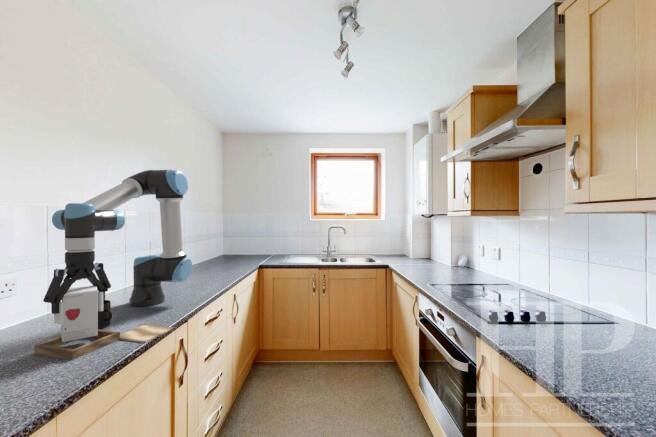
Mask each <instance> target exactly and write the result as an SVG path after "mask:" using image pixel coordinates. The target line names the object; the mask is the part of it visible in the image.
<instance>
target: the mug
mask: <svg viewBox="0 0 656 437" xmlns="http://www.w3.org/2000/svg"><path fill="white" fill-rule="evenodd" d="M111 308H112V307H111V300H109V299H105V300H103V311H98V329H99V330H103V329H104V328H107V327H109V326H110V325H111V320H112V318H113V313H112V311H111Z"/></svg>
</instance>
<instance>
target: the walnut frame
mask: <svg viewBox="0 0 656 437" xmlns="http://www.w3.org/2000/svg"><path fill="white" fill-rule="evenodd" d="M120 335H121V332H120V331H113V330H105V329H98V335H97V336H92V337H91V338H92V339H93V338H94V339H96V340H93V341H90V342H88V343H85V344H83V345H80V346H78V347H76V348H67V347H61V346H63V345H65V344H68V343H71V342H73V341H75V340H71V341H66V342H62V335H61V336H57V337H55V338H51V339H50V340H46V341H44V342H41V343H40V342H39V343H38V344H34V345H33V354H35V355H39V356H46V357H53V358H59V359H64V360H72V361H73V360H75V359H78V358H80V357H82V356H85V355H87V354H89V353H91V352H94V351H96V350H99V349H101V348H103V347H106V346H107V345H110V344H113V343H115V342H118V341H120V340H119V339H120Z"/></svg>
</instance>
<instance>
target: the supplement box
mask: <svg viewBox="0 0 656 437" xmlns="http://www.w3.org/2000/svg"><path fill="white" fill-rule="evenodd" d="M98 292H99V291H98V290H97V286H93V285H90V286H89V285H88V286H79V287H72V288H71V287H70V288H69V290H68V291H67V293H66V294H64V297H63V298H62V300H61V302H63V319H64V323H63V324H60V325H61V336H62V342H66V341H71V340H74V341H77V340H80V339H81V340H82V339H85V338H86V339H87V338H92V336H97V335H98ZM71 342H72V341H71Z"/></svg>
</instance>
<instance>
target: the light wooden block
mask: <svg viewBox="0 0 656 437" xmlns="http://www.w3.org/2000/svg"><path fill="white" fill-rule="evenodd" d="M174 329H175V327H173V326H163V325H155V324H148V323H147V324H146V323H145V324H144V325H141V326H138V327H135V328H133V329H131V330H128V331H125V332H124V333H120V339H119V340H118V341H120V340H121V341H128V342H134V343H135V342H136V343H143V344H146V343H148V342H150V341H152V340H154V339H157V338H158V337H161V336H163V335H165V334H167V333H169V332H171V331H173V330H174Z"/></svg>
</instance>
